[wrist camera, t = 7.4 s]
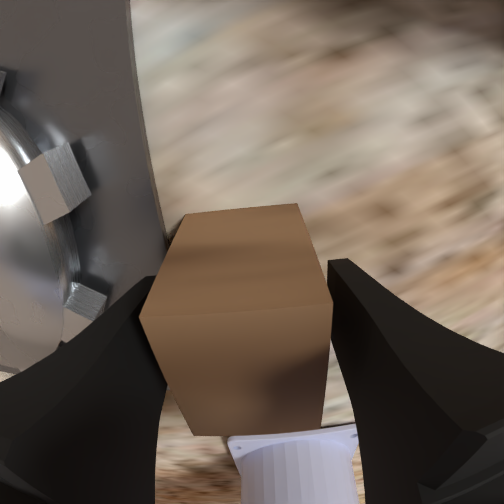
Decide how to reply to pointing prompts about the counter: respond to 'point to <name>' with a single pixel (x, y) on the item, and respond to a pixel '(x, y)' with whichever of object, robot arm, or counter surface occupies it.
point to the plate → (88, 129)
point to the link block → (242, 322)
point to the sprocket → (39, 248)
